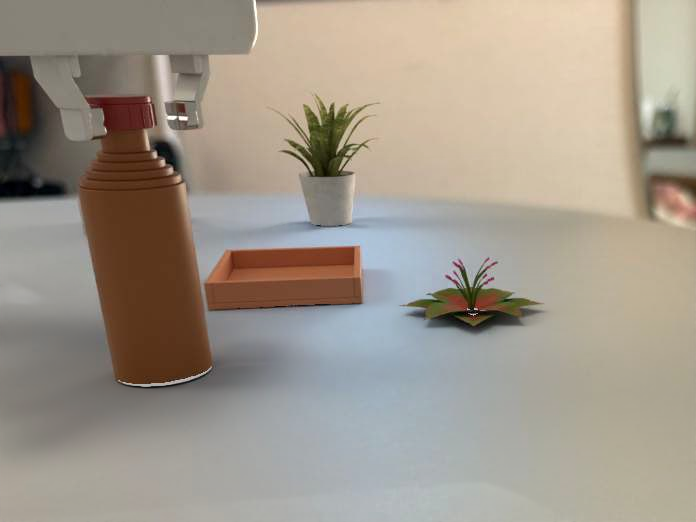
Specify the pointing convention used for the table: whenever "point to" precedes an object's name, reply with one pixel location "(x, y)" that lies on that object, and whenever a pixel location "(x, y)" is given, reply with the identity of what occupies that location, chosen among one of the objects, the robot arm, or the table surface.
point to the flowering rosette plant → (471, 299)
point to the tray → (285, 277)
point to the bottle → (144, 261)
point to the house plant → (327, 164)
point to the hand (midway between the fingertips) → (139, 134)
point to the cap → (125, 110)
